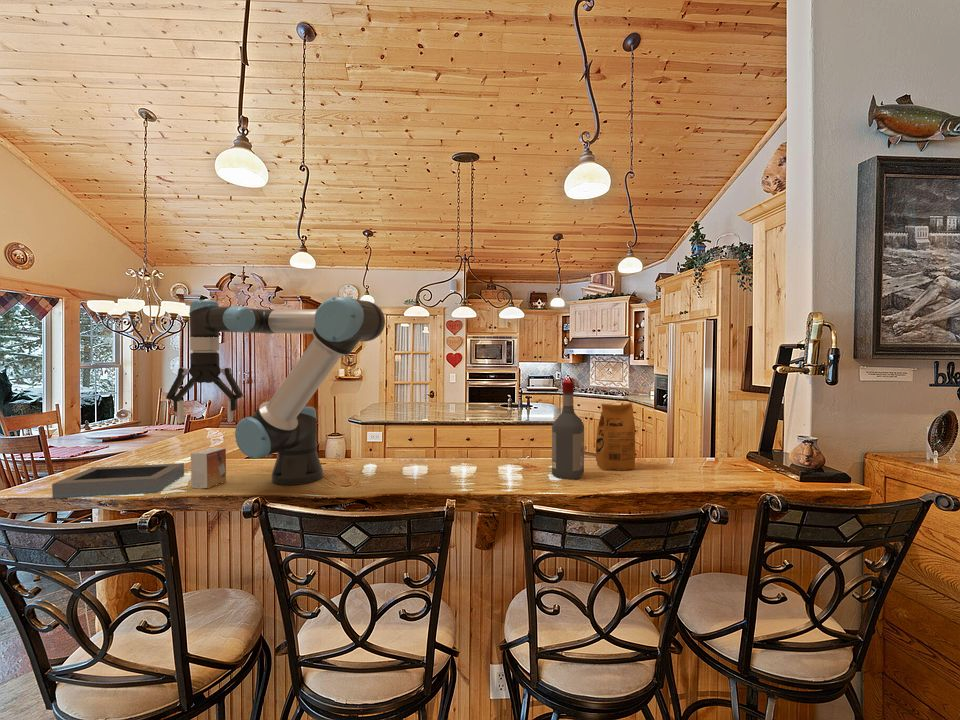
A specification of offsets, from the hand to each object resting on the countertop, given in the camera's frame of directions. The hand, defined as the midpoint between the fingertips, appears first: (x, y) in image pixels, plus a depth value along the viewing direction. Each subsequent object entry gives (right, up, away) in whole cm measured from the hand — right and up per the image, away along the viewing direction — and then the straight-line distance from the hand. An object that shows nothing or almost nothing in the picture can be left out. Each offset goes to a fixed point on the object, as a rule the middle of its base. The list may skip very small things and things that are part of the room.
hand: (205, 422), depth 141 cm
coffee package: (+129, -18, +19) cm, 132 cm away
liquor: (+111, -19, +9) cm, 113 cm away
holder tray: (-24, -19, -1) cm, 31 cm away
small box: (+1, -19, 0) cm, 19 cm away
